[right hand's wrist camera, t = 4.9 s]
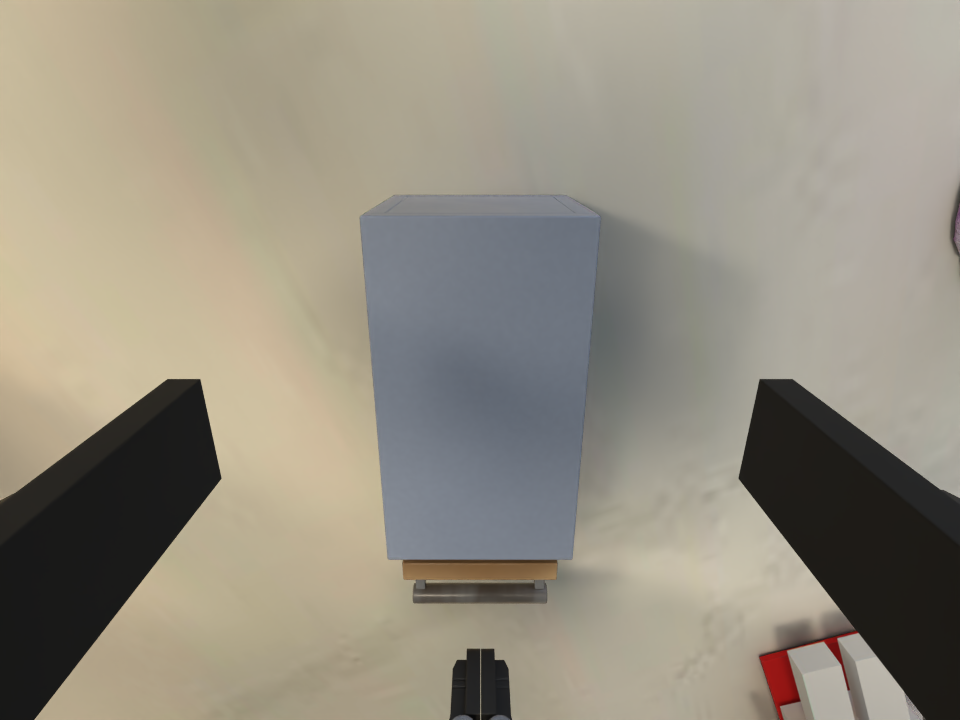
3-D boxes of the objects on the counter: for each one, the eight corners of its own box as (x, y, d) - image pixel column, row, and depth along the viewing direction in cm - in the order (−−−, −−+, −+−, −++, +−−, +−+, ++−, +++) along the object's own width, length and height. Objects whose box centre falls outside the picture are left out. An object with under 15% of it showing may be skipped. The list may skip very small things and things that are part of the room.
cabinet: (550, 462, 37) (572, 560, 28) (409, 462, 37) (387, 560, 28) (566, 195, 30) (601, 215, 22) (393, 195, 30) (358, 215, 22)
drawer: (539, 556, 39) (552, 646, 32) (420, 556, 39) (407, 645, 32) (555, 259, 31) (577, 293, 24) (404, 259, 31) (383, 293, 24)
